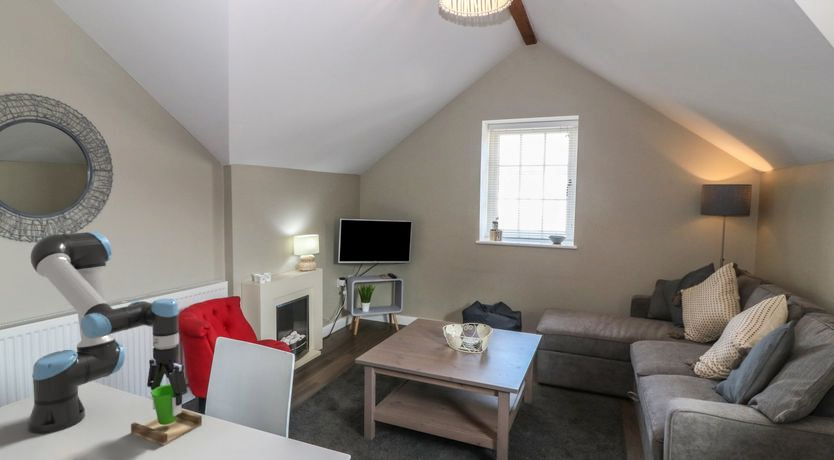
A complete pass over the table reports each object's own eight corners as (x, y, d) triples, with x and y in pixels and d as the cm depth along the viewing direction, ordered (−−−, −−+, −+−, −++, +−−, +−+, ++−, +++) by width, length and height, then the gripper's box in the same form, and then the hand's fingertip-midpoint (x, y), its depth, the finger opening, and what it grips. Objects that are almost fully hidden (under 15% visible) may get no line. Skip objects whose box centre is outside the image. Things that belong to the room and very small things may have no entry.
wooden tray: (131, 433, 145) (130, 424, 144) (169, 414, 158) (169, 405, 157) (164, 445, 138) (163, 435, 138) (201, 425, 151) (201, 416, 151)
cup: (168, 429, 142) (167, 397, 141) (145, 426, 144) (144, 393, 143) (188, 416, 151) (188, 385, 150) (166, 413, 153) (165, 382, 152)
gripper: (133, 344, 147) (135, 408, 148) (178, 354, 138) (179, 423, 140) (154, 337, 153) (156, 399, 155) (198, 347, 145) (199, 412, 146)
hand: (167, 410), depth 147 cm, fingers closed on cup, 9 cm apart
